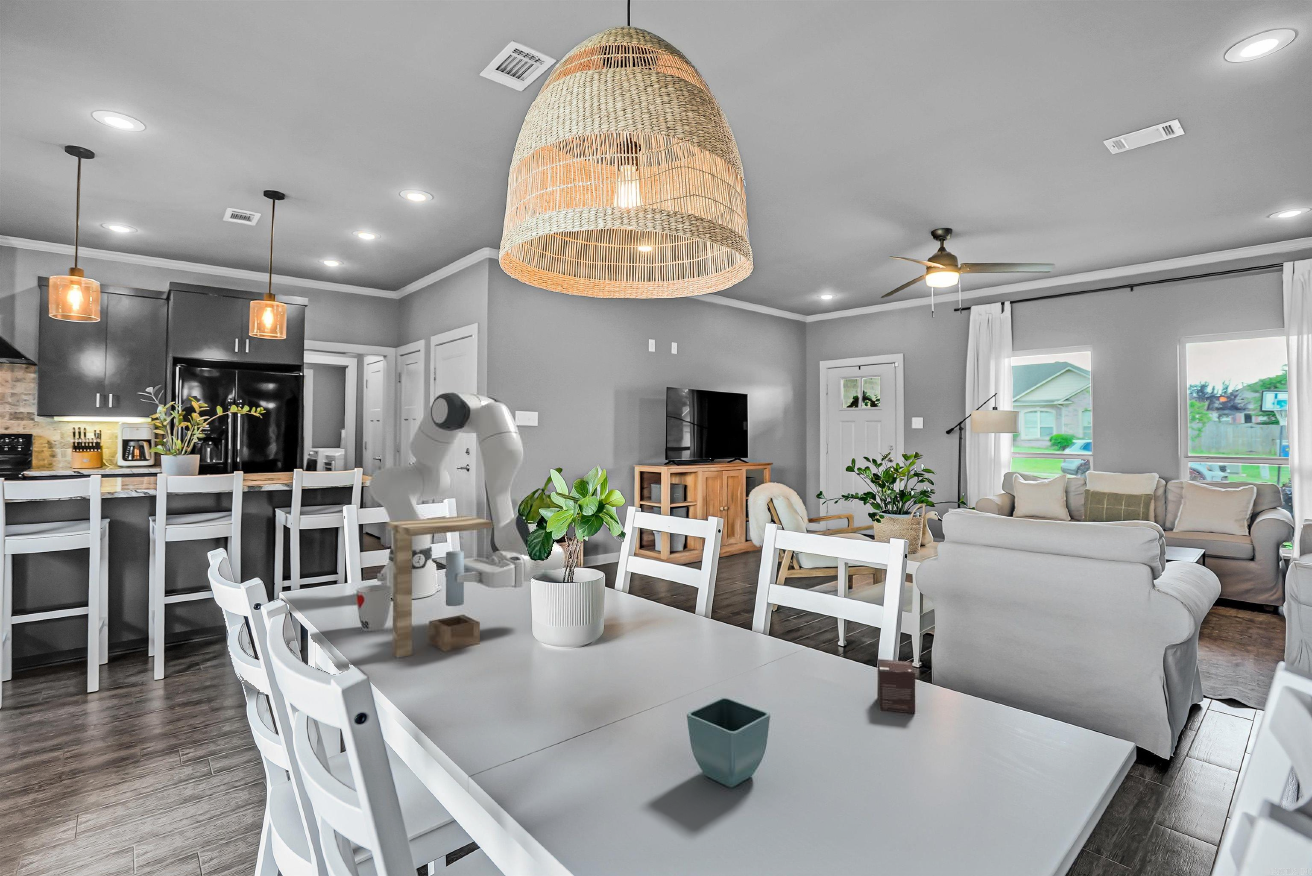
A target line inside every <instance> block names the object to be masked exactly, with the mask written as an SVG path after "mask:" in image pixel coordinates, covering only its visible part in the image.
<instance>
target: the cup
mask: <svg viewBox="0 0 1312 876" xmlns="http://www.w3.org/2000/svg"><path fill="white" fill-rule="evenodd" d="M391 592H392V586H389V585H379V584H370V585H369V584H368V585H364V586H360V587H358V588H356V603H357V604H356V606H357V612H358V618H359V619H358V620H359V623H360V624H361V629H362V631H364V632H376V631H377V630H378V631H381V629H382V630H384V629H385V628H386V625H387V622H388V619H389V614H390V608H391V605H392V604H391V603H392V599H391ZM384 627H385V628H384ZM383 628H384V629H383ZM378 631H377V632H378Z"/></svg>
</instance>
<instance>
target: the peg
mask: <svg viewBox="0 0 1312 876" xmlns="http://www.w3.org/2000/svg"><path fill="white" fill-rule="evenodd" d="M464 552H465V551H464V550H452V551H451V550H449V551H446V552H445V571H446V577H445V605H446V607H447V606H448V607H460V606H463V605H464V603H465V585H464V584H465V582H460V583H459V582H457V581H455V575H456V574H459V573H464V559H465V553H464Z"/></svg>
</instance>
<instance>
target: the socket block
mask: <svg viewBox="0 0 1312 876" xmlns="http://www.w3.org/2000/svg"><path fill="white" fill-rule="evenodd" d="M480 625H481V623H480V621H478V620H475V619H474V618H472V617H470V616H468V615H465V614H459V615H453V616H449V617H444V618H438V619H434V620H429V621H428V643H429V644H431V645H432V646H434V647H436V648H437V649H439V650H441V651H442V652H443V653H445V651H446V652H450V651H454V649H455V650H458V648H459V649H463V648H468V647H471V646H475V645H480V639H481V638H480V637H481V635H480V633H481V632H480V630H481V629H480V628H481V627H480Z"/></svg>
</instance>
